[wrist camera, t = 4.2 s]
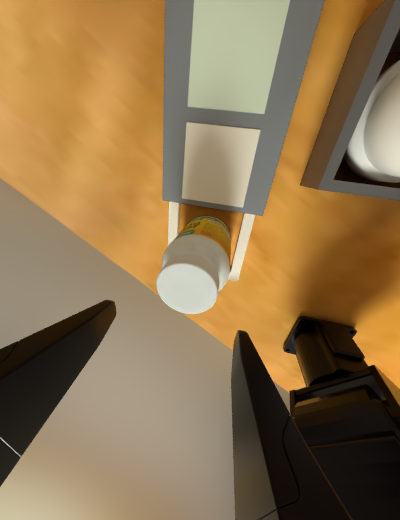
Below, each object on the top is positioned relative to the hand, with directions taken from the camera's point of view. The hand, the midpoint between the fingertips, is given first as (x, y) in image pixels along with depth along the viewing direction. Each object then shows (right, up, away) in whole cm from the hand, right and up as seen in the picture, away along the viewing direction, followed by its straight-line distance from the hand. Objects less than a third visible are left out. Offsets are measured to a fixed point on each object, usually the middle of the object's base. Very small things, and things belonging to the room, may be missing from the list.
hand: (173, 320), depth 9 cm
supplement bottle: (+2, +5, +11) cm, 12 cm away
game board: (+3, +11, +7) cm, 14 cm away
